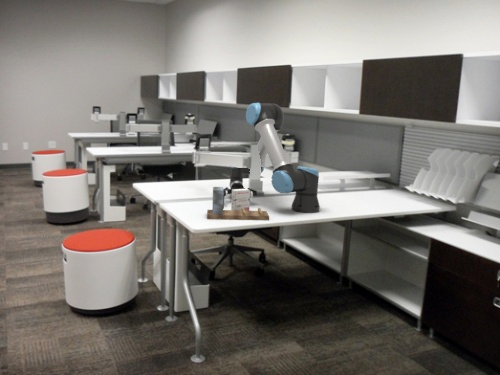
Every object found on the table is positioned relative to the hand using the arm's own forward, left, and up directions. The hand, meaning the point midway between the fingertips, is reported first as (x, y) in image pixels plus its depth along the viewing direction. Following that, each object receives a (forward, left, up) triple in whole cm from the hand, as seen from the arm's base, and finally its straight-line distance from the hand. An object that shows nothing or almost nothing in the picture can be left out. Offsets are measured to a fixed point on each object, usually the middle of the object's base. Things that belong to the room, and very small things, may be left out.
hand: (239, 195), depth 255 cm
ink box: (0, +10, -7) cm, 12 cm away
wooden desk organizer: (+2, +20, -7) cm, 22 cm away
